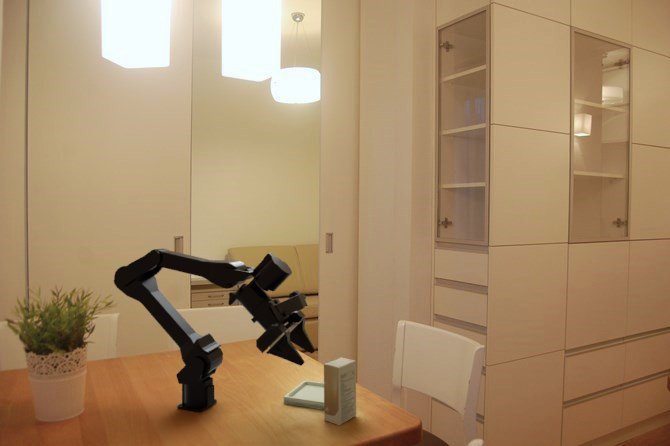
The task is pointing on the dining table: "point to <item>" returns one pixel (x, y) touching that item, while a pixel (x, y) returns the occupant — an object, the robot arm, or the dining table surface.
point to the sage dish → (307, 395)
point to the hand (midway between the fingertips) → (308, 357)
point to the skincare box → (339, 390)
